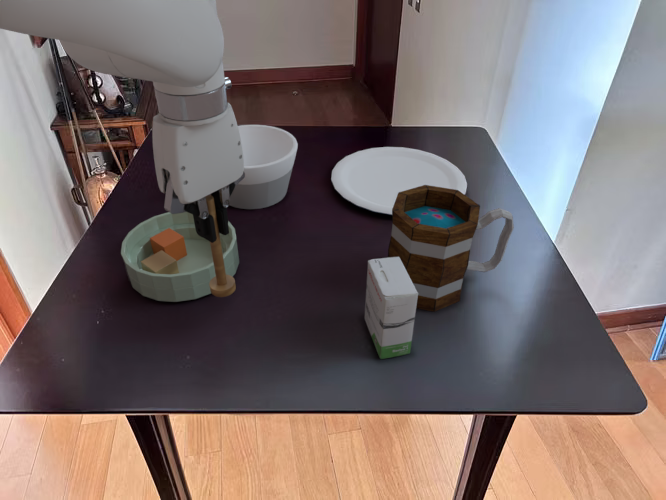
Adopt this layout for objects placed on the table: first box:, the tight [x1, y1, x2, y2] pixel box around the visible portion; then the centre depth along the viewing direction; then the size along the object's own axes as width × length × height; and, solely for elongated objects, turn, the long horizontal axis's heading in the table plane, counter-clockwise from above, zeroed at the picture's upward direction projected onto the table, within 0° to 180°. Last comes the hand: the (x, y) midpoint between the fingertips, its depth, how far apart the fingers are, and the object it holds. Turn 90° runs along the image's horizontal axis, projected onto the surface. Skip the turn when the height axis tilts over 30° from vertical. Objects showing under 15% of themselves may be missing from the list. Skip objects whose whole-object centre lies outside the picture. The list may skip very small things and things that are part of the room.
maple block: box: [141, 250, 179, 274], centre depth 83 cm, size 4×4×4 cm
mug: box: [387, 185, 515, 312], centre depth 82 cm, size 20×14×15 cm
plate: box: [330, 146, 468, 216], centre depth 111 cm, size 29×29×2 cm
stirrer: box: [205, 195, 237, 298], centre depth 69 cm, size 4×4×15 cm
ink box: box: [364, 256, 418, 360], centre depth 73 cm, size 9×5×12 cm, turn 13°
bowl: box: [229, 124, 299, 210], centre depth 105 cm, size 19×19×11 cm
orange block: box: [150, 228, 187, 261], centre depth 88 cm, size 4×4×4 cm
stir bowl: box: [120, 211, 240, 303], centre depth 86 cm, size 18×18×6 cm
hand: (213, 233), depth 68 cm, fingers closed on stirrer, 1 cm apart
